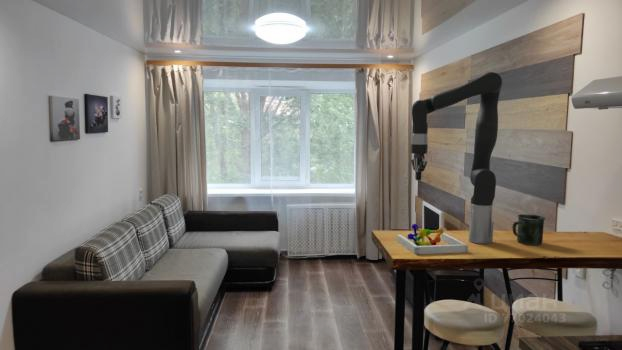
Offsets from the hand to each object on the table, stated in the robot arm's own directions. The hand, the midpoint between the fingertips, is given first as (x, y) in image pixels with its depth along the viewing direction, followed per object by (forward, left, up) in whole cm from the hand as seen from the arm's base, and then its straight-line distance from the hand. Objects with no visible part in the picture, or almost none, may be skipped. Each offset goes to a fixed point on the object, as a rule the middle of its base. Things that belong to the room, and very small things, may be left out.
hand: (418, 179), depth 207 cm
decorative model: (+4, +18, -27) cm, 33 cm away
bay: (+2, +20, -27) cm, 33 cm away
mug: (-44, +20, -27) cm, 55 cm away
